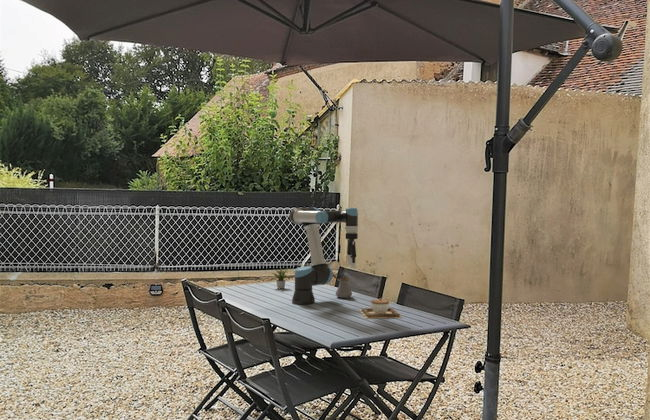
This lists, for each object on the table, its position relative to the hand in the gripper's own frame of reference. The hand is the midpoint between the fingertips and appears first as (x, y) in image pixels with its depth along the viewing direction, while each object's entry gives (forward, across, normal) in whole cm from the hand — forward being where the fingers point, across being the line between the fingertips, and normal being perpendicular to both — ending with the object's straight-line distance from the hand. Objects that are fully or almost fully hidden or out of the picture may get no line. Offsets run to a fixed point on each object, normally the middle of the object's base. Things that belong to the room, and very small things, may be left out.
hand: (351, 266), depth 361 cm
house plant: (+27, -82, -40) cm, 95 cm away
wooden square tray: (+27, +16, +15) cm, 35 cm away
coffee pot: (+27, -44, -1) cm, 52 cm away
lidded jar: (+27, +16, +15) cm, 34 cm away
